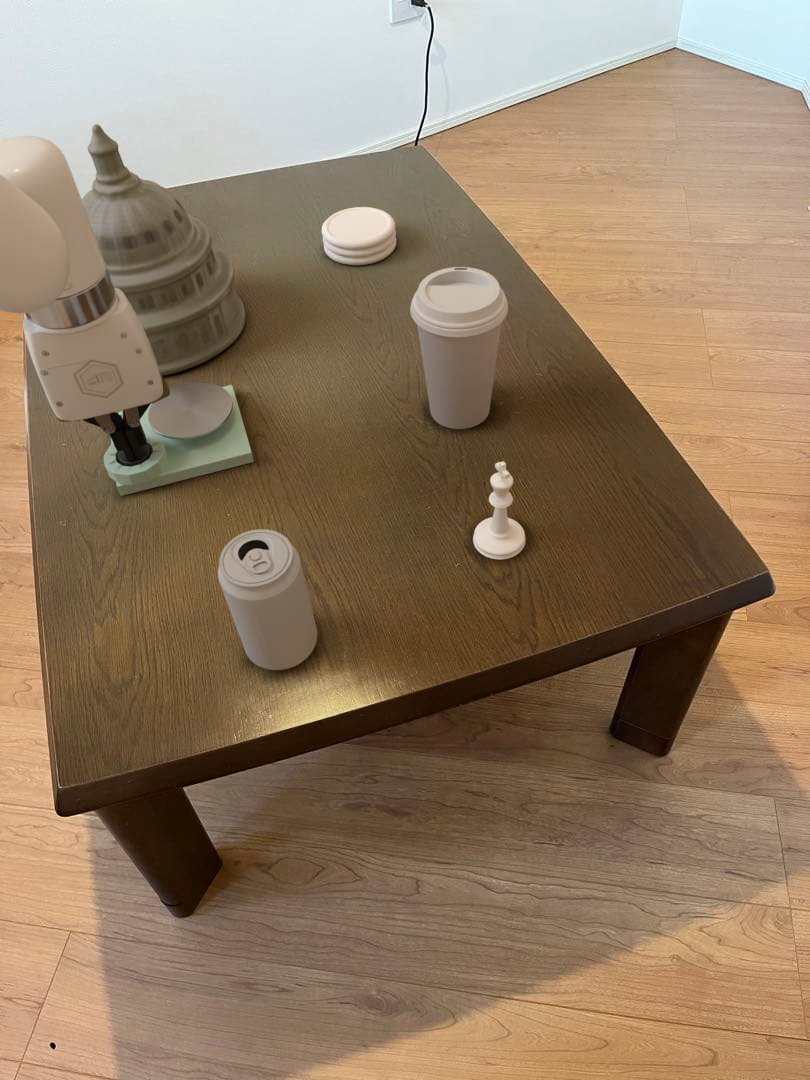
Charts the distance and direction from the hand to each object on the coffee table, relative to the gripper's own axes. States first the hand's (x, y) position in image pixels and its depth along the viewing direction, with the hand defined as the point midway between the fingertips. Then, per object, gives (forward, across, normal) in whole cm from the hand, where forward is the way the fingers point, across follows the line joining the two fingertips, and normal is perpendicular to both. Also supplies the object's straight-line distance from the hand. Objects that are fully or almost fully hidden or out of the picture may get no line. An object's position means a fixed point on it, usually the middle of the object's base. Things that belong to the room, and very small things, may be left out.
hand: (134, 450), depth 85 cm
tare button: (+2, 0, 0) cm, 2 cm away
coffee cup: (+4, +34, -3) cm, 35 cm away
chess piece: (+3, +31, -22) cm, 38 cm away
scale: (+3, +4, +3) cm, 6 cm away
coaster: (+4, +33, +34) cm, 48 cm away
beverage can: (+3, +9, -26) cm, 28 cm away
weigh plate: (0, +6, +4) cm, 8 cm away
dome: (+4, +5, +25) cm, 26 cm away
